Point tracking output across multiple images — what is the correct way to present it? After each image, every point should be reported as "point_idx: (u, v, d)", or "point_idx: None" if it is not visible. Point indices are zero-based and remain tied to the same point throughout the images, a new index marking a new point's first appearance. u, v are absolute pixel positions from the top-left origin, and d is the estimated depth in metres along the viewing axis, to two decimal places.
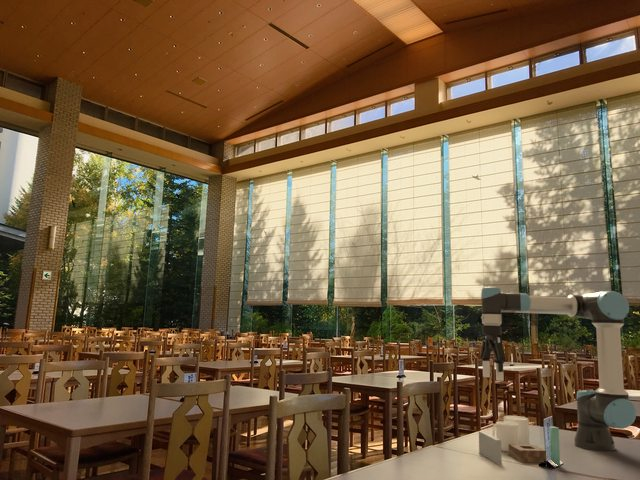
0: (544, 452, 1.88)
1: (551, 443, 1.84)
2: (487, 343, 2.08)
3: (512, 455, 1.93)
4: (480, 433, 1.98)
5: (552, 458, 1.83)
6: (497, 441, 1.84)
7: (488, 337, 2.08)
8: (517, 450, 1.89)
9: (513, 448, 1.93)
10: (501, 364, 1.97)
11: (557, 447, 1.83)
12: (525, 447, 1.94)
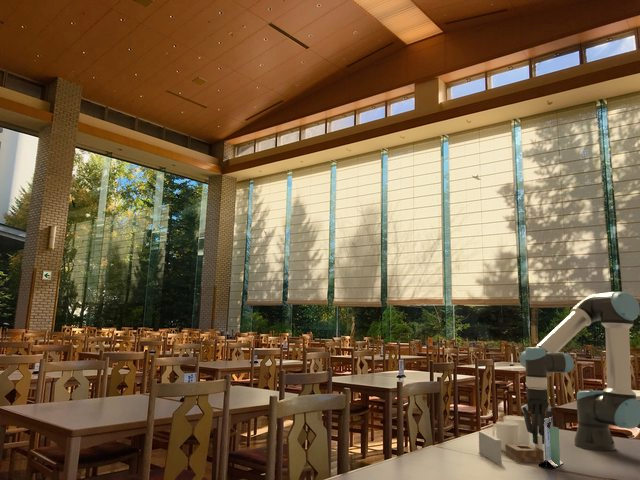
0: (541, 452, 1.88)
1: (551, 443, 1.84)
2: None
3: (509, 455, 1.93)
4: (480, 433, 1.98)
5: (552, 458, 1.83)
6: (497, 441, 1.84)
7: None
8: (514, 450, 1.89)
9: (510, 448, 1.93)
10: (533, 435, 1.93)
11: (557, 447, 1.83)
12: (522, 447, 1.94)
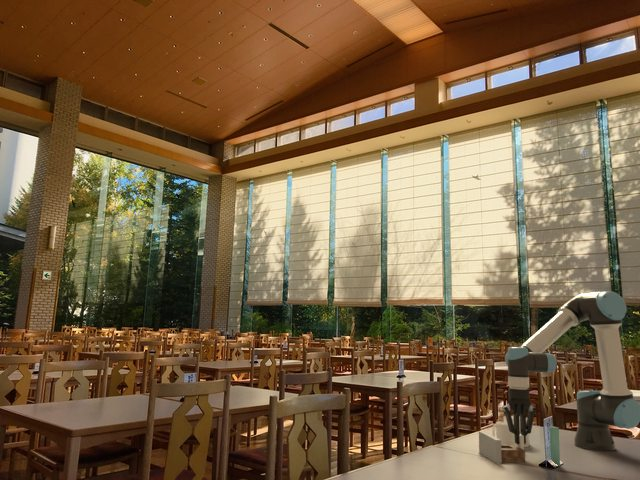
0: (522, 452, 1.87)
1: (551, 443, 1.84)
2: None
3: None
4: (480, 433, 1.98)
5: (552, 458, 1.83)
6: (497, 441, 1.84)
7: None
8: None
9: None
10: (515, 435, 1.93)
11: (557, 447, 1.83)
12: (504, 447, 1.94)
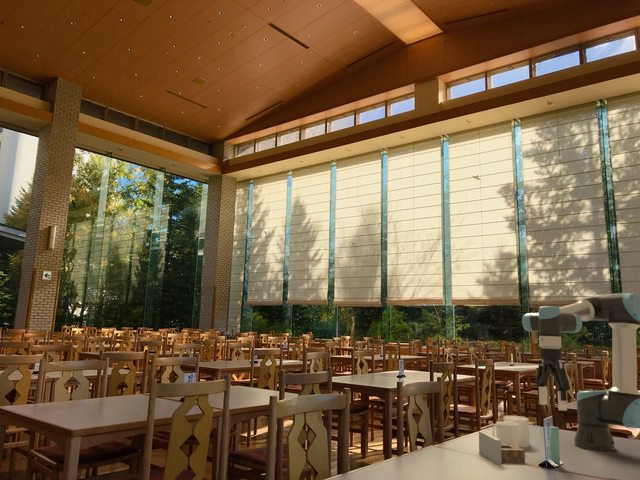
0: (522, 452, 1.87)
1: (551, 443, 1.84)
2: (545, 368, 1.90)
3: None
4: (480, 433, 1.98)
5: (552, 458, 1.83)
6: (497, 441, 1.84)
7: (546, 361, 1.90)
8: None
9: None
10: (564, 392, 1.79)
11: (557, 447, 1.83)
12: (504, 447, 1.94)
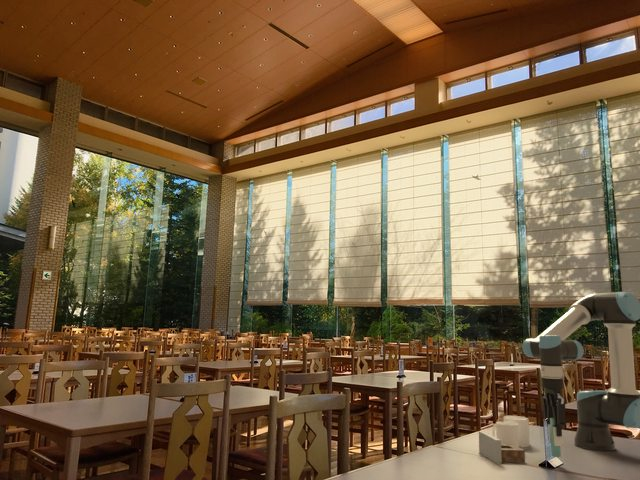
0: (522, 452, 1.87)
1: (551, 434, 1.85)
2: (548, 397, 1.88)
3: None
4: (480, 433, 1.98)
5: (553, 449, 1.84)
6: (497, 441, 1.84)
7: None
8: None
9: None
10: (560, 428, 1.82)
11: None
12: (504, 447, 1.94)
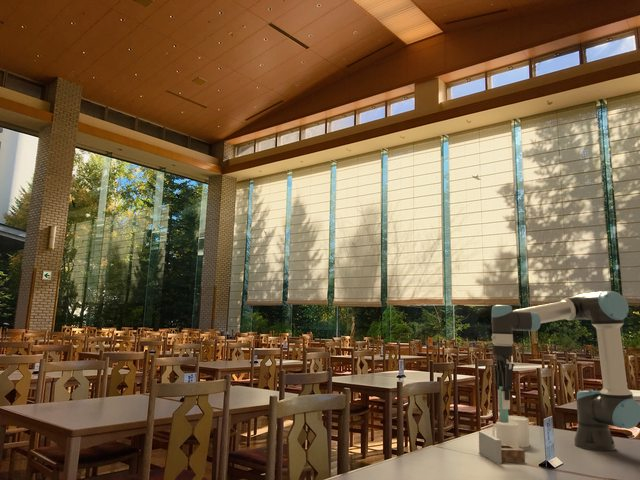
0: (522, 452, 1.87)
1: (500, 401, 1.94)
2: (498, 364, 1.98)
3: None
4: (480, 433, 1.98)
5: (501, 415, 1.93)
6: (497, 441, 1.84)
7: None
8: None
9: None
10: (507, 392, 1.92)
11: None
12: (504, 447, 1.94)
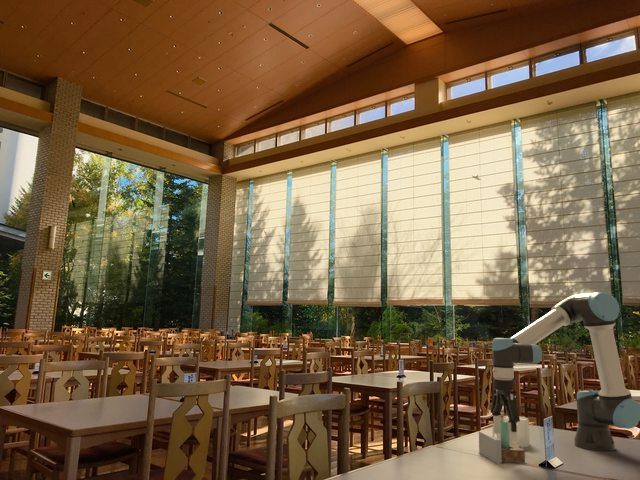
0: (522, 452, 1.87)
1: (501, 437, 1.92)
2: (499, 398, 1.96)
3: None
4: (480, 433, 1.98)
5: None
6: (497, 441, 1.84)
7: (500, 392, 1.96)
8: None
9: None
10: (514, 423, 1.85)
11: (507, 441, 1.91)
12: None
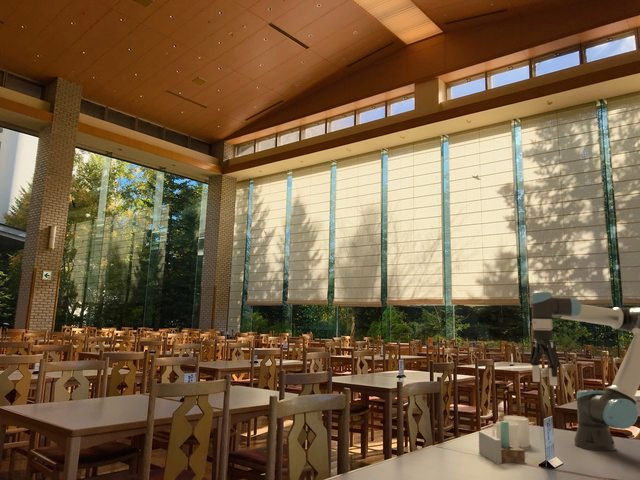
0: (522, 452, 1.87)
1: (501, 437, 1.92)
2: (538, 348, 2.08)
3: None
4: (480, 433, 1.98)
5: None
6: (497, 441, 1.84)
7: (539, 342, 2.08)
8: None
9: None
10: (555, 369, 1.98)
11: (507, 441, 1.91)
12: None
